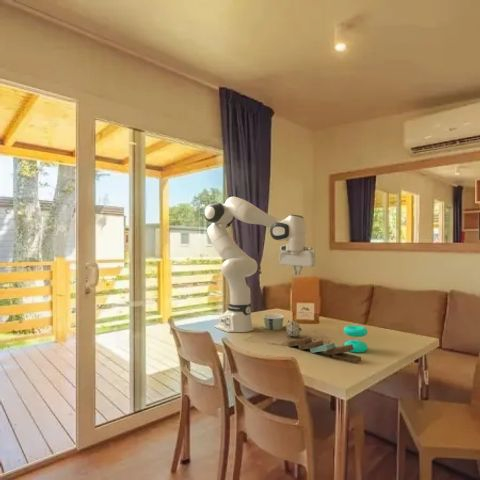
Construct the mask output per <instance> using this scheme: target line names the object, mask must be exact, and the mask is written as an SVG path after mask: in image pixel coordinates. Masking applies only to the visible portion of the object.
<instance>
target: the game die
mask: <svg viewBox="0 0 480 480" xmlns="http://www.w3.org/2000/svg"><path fill="white" fill-rule="evenodd" d="M287 320H288V323H287V324H286V326H284V329H285V330H286V334H287V338H289V337H296V338H297V337H298V338H299V334H300V332H302V331H303V329H302V328H301V327H300V324H299V322H300V321H299V320H298V321H290V320H289V319H287Z"/></svg>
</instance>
